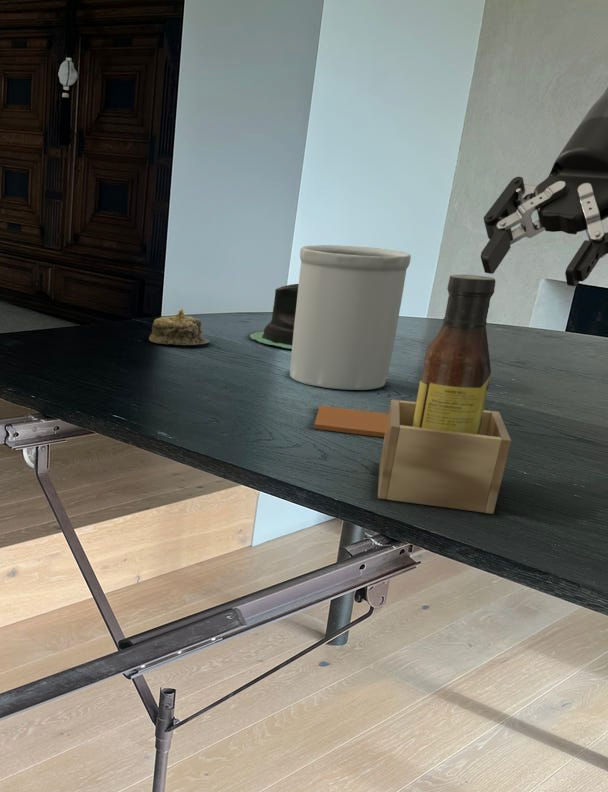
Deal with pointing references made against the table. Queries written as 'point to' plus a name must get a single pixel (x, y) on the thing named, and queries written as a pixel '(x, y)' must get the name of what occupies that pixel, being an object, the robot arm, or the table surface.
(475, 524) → the table surface
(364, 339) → the utensil holder
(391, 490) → the box
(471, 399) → the sauce bottle
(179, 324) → the cake
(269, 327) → the chocolate cake
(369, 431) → the cork mat
